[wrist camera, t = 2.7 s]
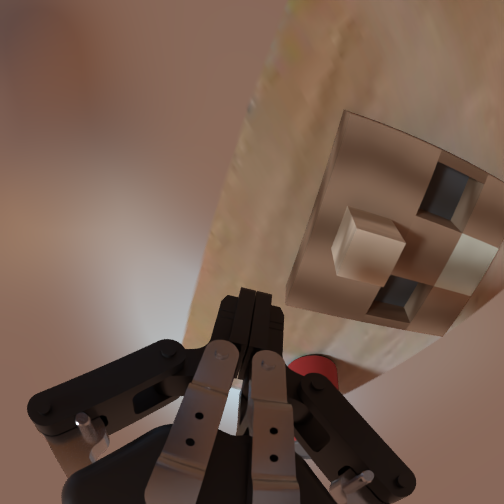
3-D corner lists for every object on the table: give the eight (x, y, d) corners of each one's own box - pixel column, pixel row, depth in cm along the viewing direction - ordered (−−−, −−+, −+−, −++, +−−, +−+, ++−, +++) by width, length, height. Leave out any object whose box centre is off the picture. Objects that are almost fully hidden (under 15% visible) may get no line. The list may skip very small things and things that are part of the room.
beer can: (320, 387, 41) (322, 463, 30) (277, 375, 40) (271, 455, 30) (345, 360, 37) (354, 443, 27) (299, 346, 37) (298, 434, 26)
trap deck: (343, 109, 23) (350, 113, 20) (507, 184, 23) (523, 195, 21) (286, 286, 32) (285, 305, 30) (435, 319, 33) (442, 336, 30)
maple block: (347, 205, 24) (356, 228, 21) (391, 219, 24) (405, 243, 21) (331, 248, 26) (336, 275, 23) (373, 259, 26) (383, 287, 23)
